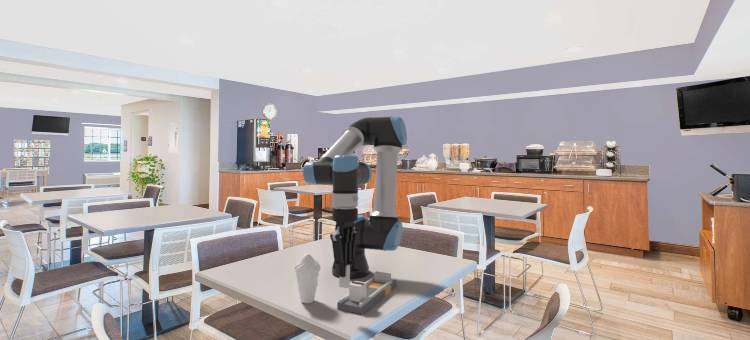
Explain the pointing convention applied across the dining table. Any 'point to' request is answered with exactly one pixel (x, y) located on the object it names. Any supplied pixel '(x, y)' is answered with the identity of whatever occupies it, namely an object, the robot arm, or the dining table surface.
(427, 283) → the dining table surface
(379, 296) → the slider track
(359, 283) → the fader tab
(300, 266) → the soft serve ice cream cone
